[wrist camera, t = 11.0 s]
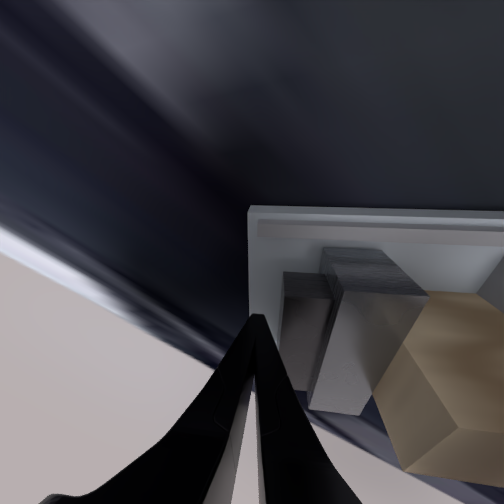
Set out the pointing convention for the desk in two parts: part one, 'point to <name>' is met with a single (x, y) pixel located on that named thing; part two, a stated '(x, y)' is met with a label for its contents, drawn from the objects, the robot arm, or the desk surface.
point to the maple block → (448, 391)
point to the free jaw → (345, 326)
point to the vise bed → (376, 248)
